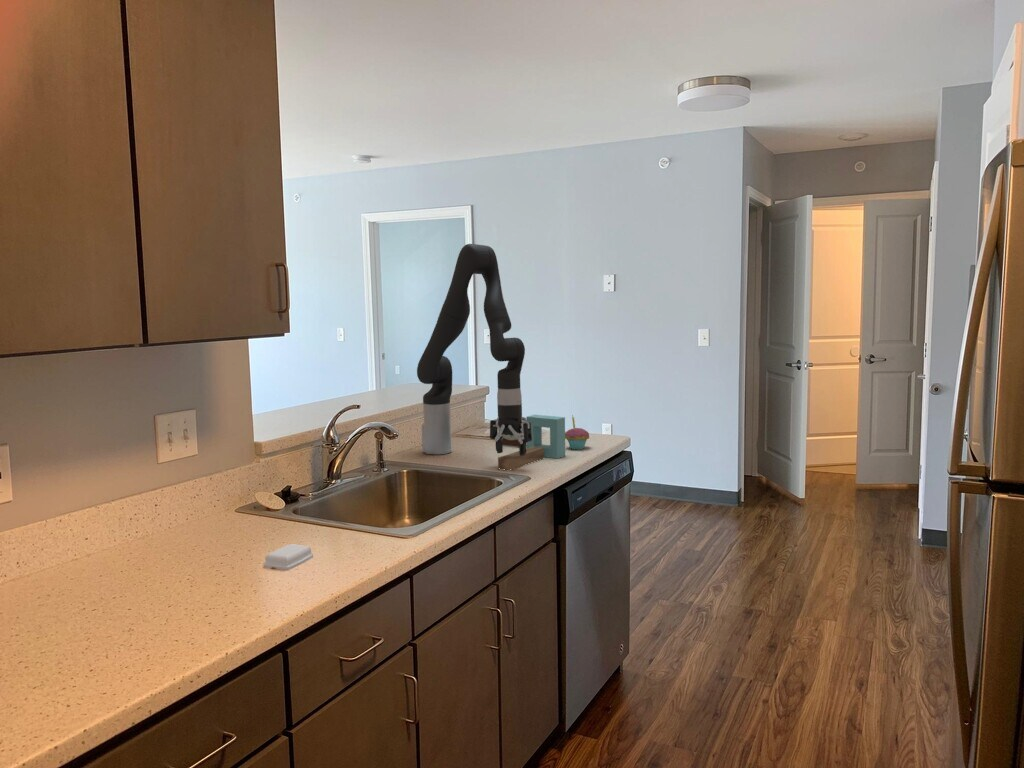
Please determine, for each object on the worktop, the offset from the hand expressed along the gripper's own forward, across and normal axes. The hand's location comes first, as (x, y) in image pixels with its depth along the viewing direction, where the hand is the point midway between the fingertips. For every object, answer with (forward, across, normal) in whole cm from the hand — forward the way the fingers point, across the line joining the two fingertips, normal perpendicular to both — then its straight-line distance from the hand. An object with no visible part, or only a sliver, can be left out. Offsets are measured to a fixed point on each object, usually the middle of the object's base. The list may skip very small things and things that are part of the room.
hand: (511, 454), depth 234 cm
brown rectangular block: (+5, 0, +6) cm, 8 cm away
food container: (+4, -19, +30) cm, 36 cm away
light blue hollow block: (+4, 0, +21) cm, 21 cm away
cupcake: (+4, +3, +36) cm, 37 cm away
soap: (+5, +8, -93) cm, 93 cm away
